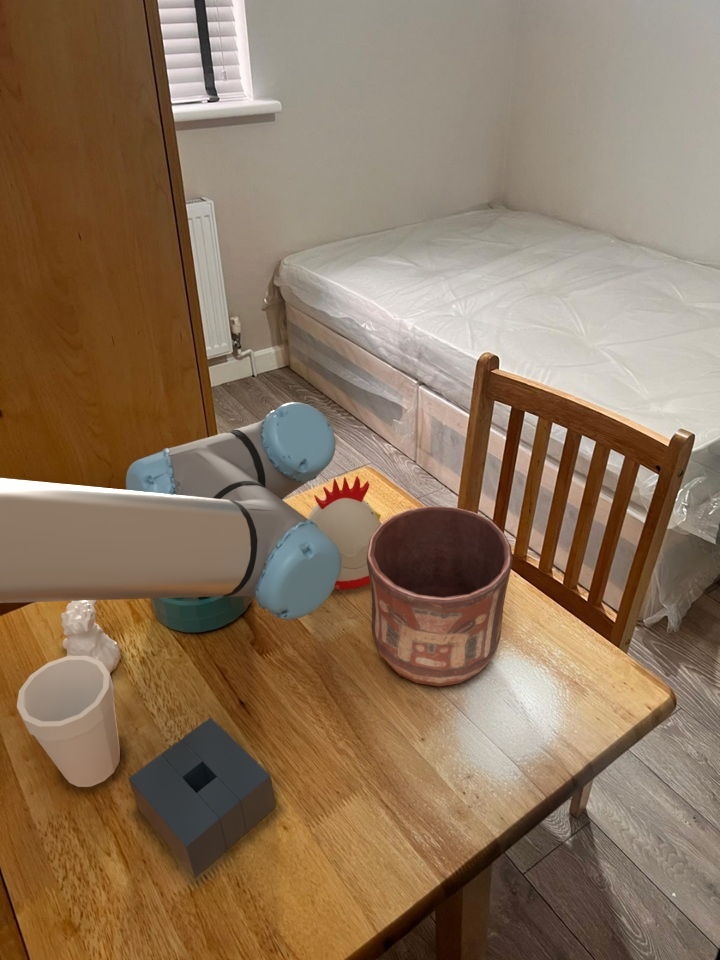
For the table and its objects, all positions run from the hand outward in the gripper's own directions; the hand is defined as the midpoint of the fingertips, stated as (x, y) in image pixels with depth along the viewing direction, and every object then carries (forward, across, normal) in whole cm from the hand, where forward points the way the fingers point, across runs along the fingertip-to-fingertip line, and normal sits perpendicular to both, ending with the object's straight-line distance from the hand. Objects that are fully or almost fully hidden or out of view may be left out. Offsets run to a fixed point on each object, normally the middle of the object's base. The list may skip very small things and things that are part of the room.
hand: (190, 530), depth 99 cm
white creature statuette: (+10, -18, -9) cm, 22 cm away
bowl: (+9, 0, -9) cm, 13 cm away
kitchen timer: (+3, +20, -15) cm, 26 cm away
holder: (-10, -19, -28) cm, 35 cm away
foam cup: (+1, -25, -18) cm, 31 cm away
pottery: (-12, +15, -31) cm, 37 cm away
